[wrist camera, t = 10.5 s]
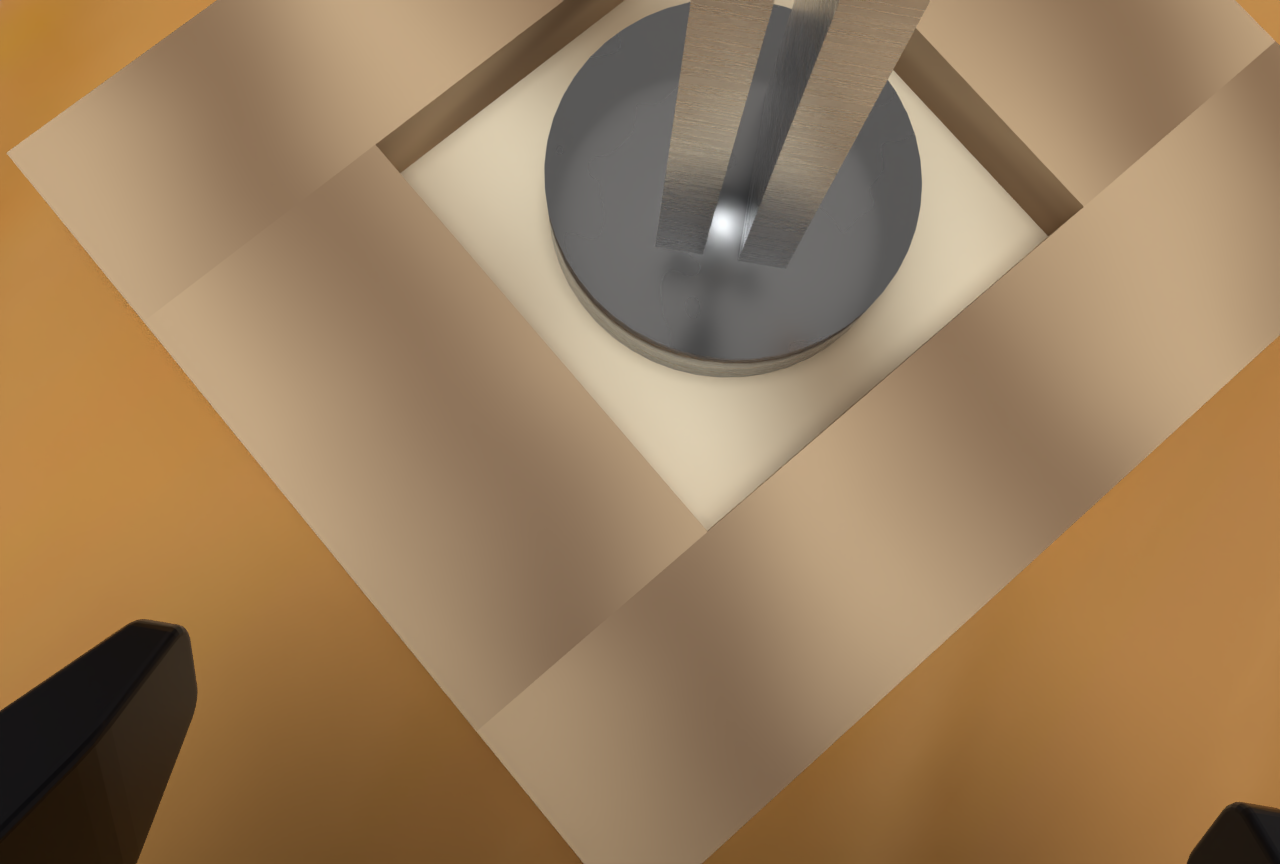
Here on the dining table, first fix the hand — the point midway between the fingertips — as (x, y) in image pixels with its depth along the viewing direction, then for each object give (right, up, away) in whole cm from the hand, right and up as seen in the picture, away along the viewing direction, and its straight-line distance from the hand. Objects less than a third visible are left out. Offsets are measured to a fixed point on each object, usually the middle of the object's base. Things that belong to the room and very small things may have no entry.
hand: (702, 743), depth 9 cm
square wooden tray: (+1, +7, +11) cm, 13 cm away
